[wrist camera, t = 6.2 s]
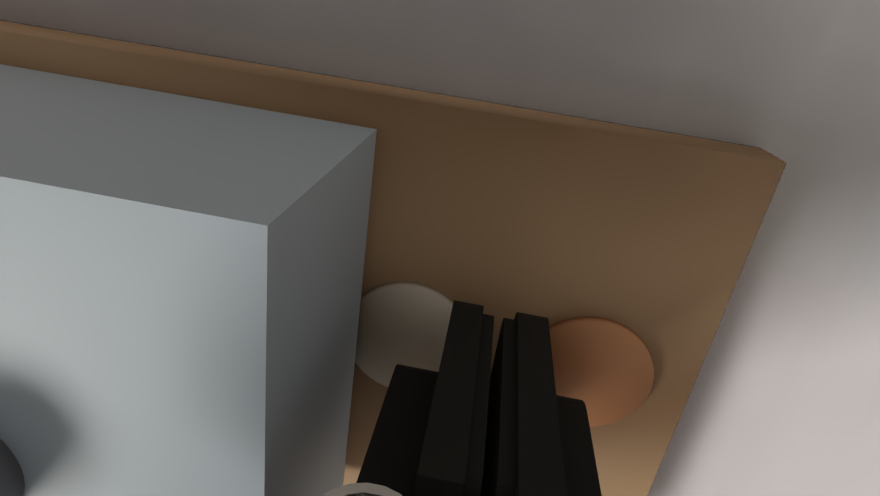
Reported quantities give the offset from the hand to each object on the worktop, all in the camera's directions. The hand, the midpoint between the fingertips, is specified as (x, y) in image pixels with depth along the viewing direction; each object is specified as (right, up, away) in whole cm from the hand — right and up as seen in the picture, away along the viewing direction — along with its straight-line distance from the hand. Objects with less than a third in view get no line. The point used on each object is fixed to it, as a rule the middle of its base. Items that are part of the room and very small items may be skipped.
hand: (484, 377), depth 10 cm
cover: (-6, +1, +1) cm, 7 cm away
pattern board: (-3, +1, +2) cm, 4 cm away
